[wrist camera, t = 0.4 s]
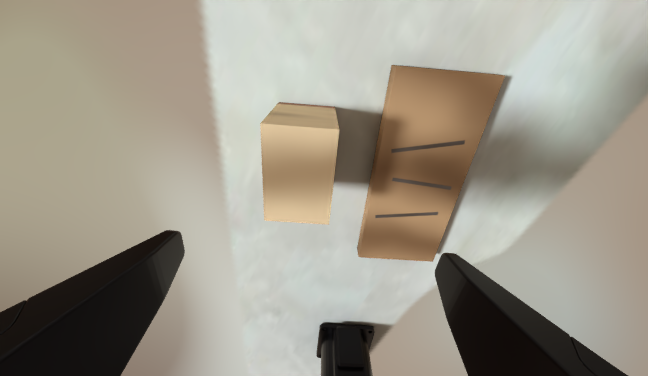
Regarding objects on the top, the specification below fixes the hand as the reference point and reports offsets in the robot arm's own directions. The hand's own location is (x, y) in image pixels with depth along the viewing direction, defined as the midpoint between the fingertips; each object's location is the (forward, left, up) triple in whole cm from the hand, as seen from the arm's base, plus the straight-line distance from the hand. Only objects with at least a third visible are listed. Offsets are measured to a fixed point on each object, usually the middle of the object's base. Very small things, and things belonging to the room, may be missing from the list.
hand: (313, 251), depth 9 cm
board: (-2, -8, -12) cm, 15 cm away
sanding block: (0, +1, -12) cm, 12 cm away
